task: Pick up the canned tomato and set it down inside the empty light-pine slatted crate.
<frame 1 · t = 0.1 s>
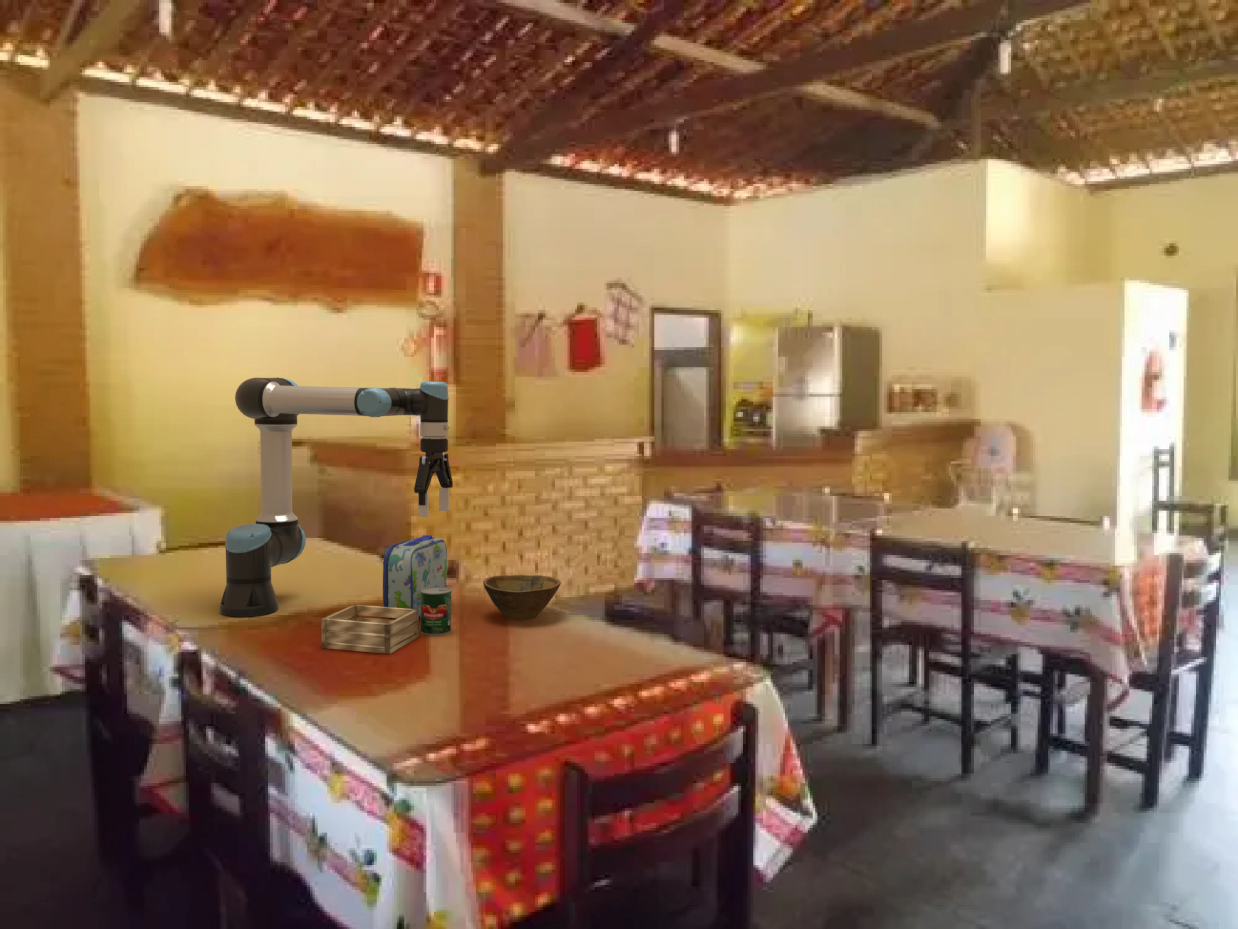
hand: (434, 514, 263), 28 cm above the table, fingers open, 13 cm apart
crate: (371, 642, 235), on the table
lunch box: (415, 612, 266), on the table
canned tomato: (435, 632, 246), on the table
bowl: (521, 617, 264), on the table
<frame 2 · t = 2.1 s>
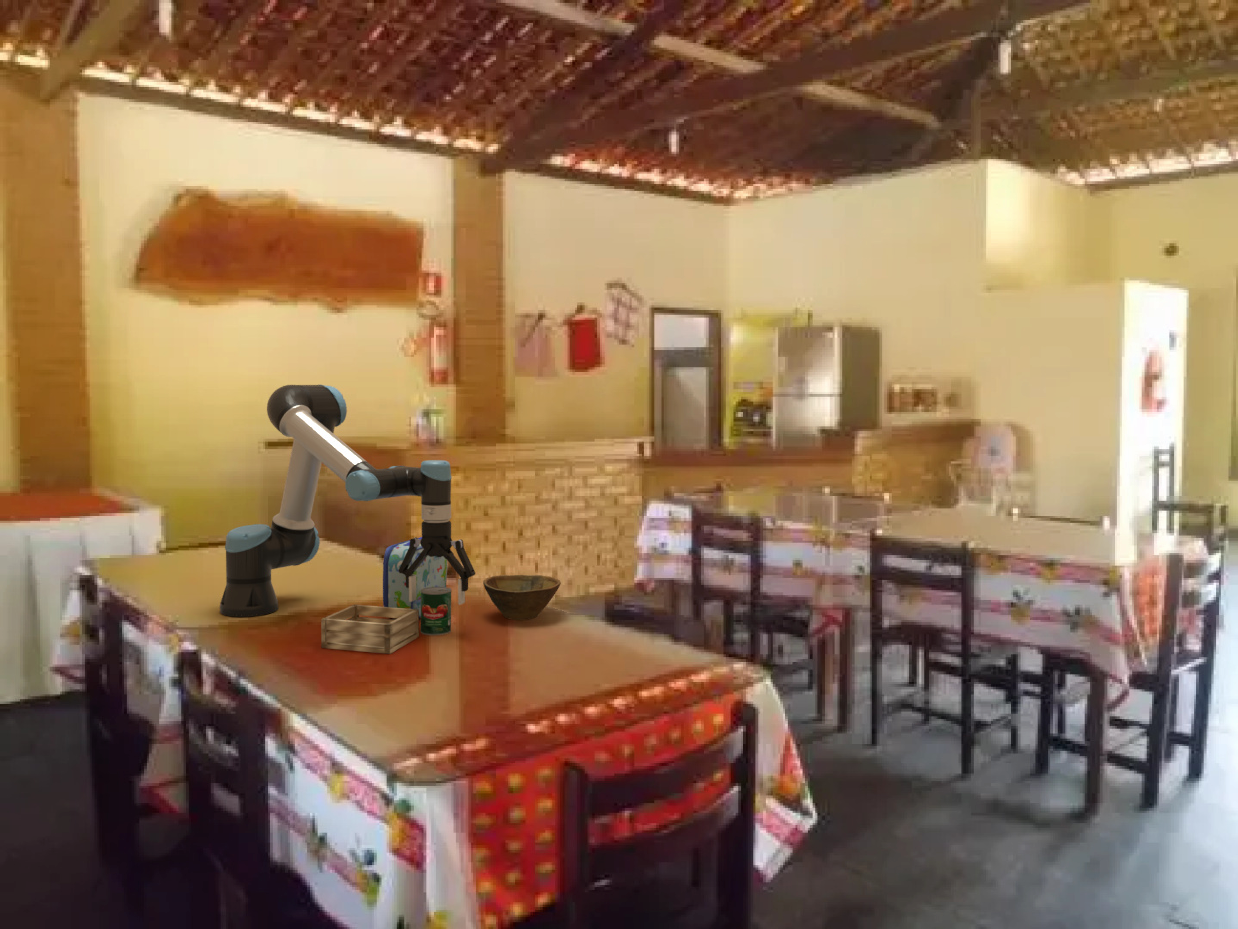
hand: (436, 602, 245), 8 cm above the table, fingers open, 13 cm apart
nothing on the table moved.
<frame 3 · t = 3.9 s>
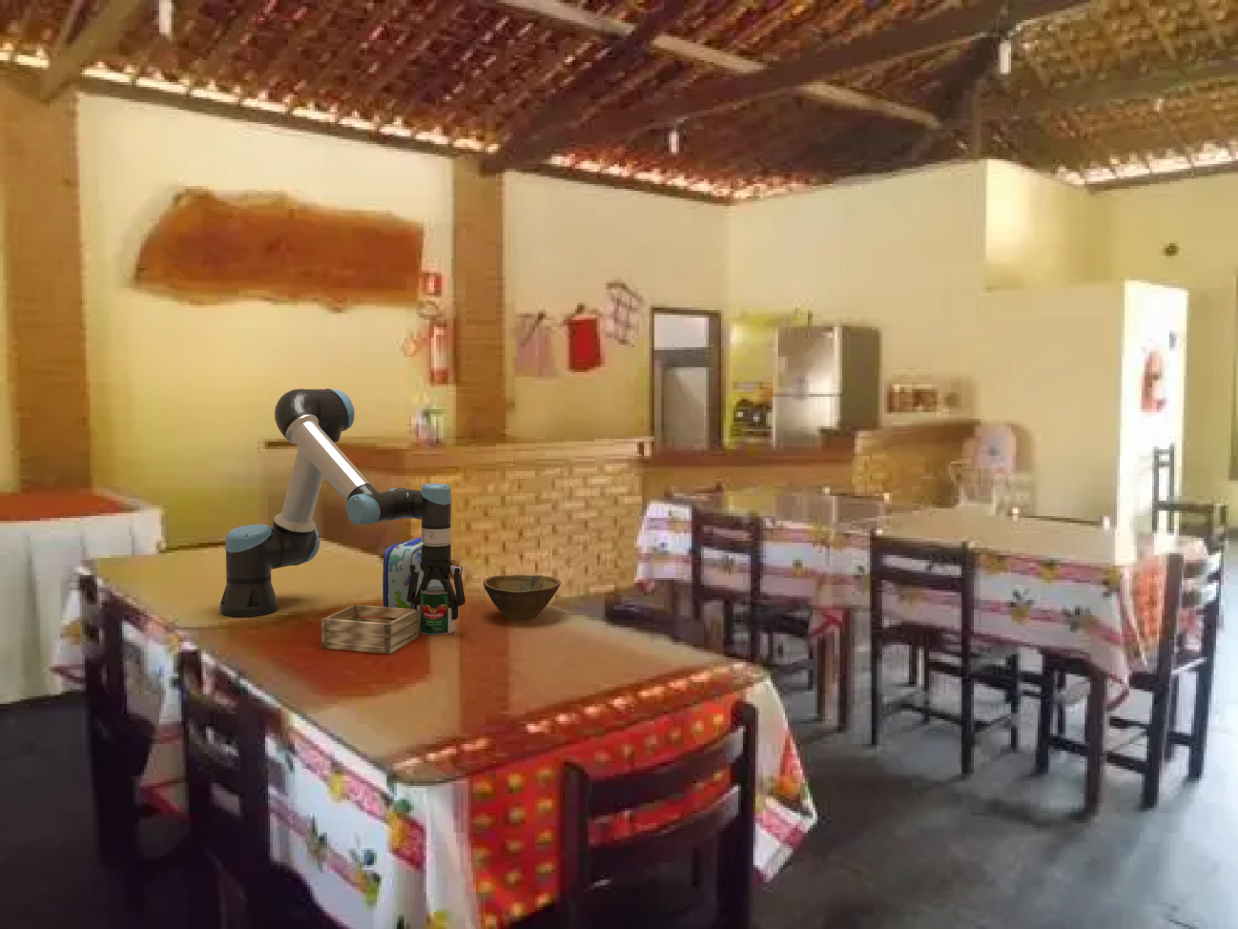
hand: (435, 630, 246), 0 cm above the table, fingers closed on canned tomato, 8 cm apart
canned tomato: (435, 632, 246), on the table, touching gripper
everything else where it was.
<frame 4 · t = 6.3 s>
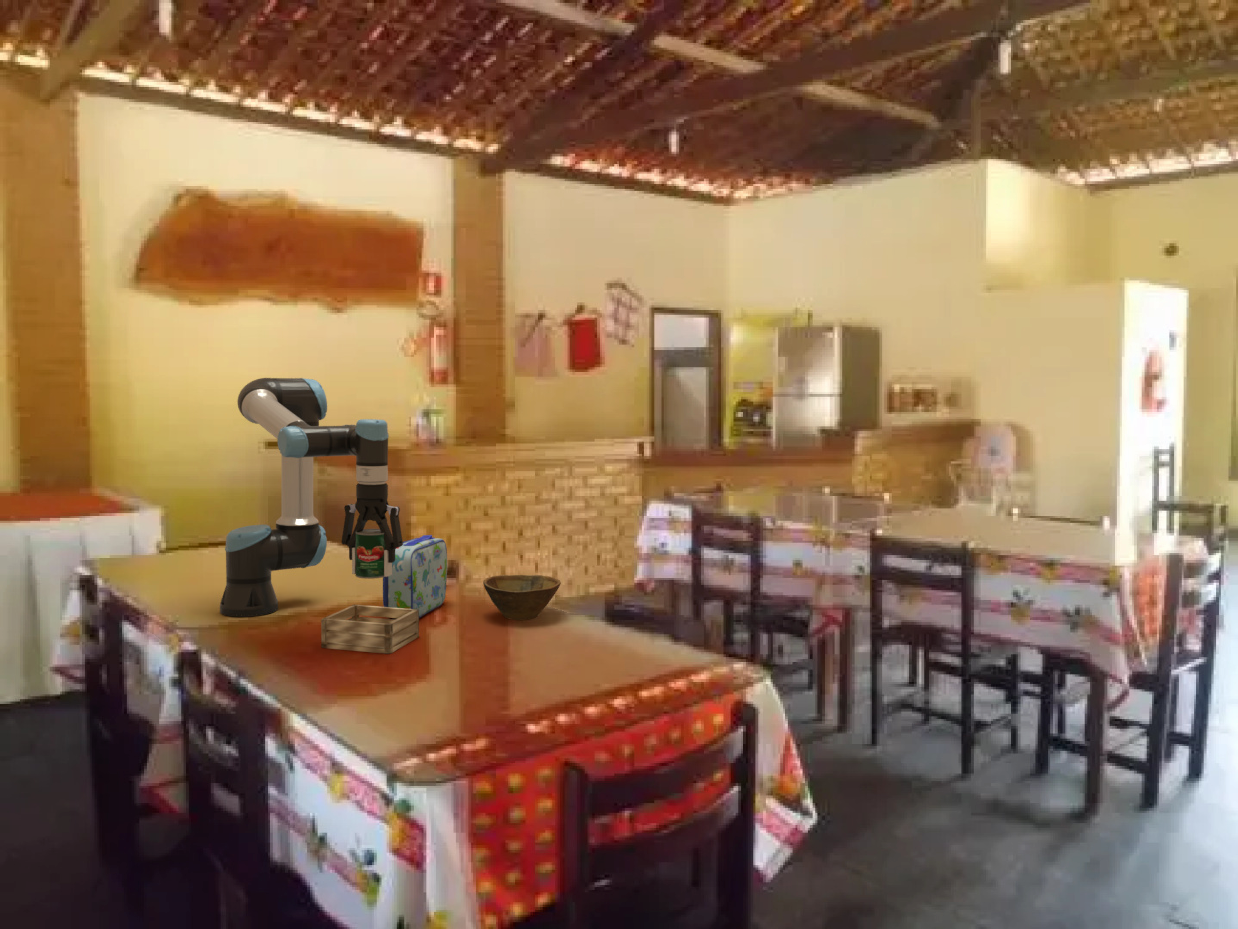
hand: (372, 574, 233), 17 cm above the table, fingers closed on canned tomato, 8 cm apart
canned tomato: (372, 576, 233), point 17 cm above the table, touching gripper
everything else where it was.
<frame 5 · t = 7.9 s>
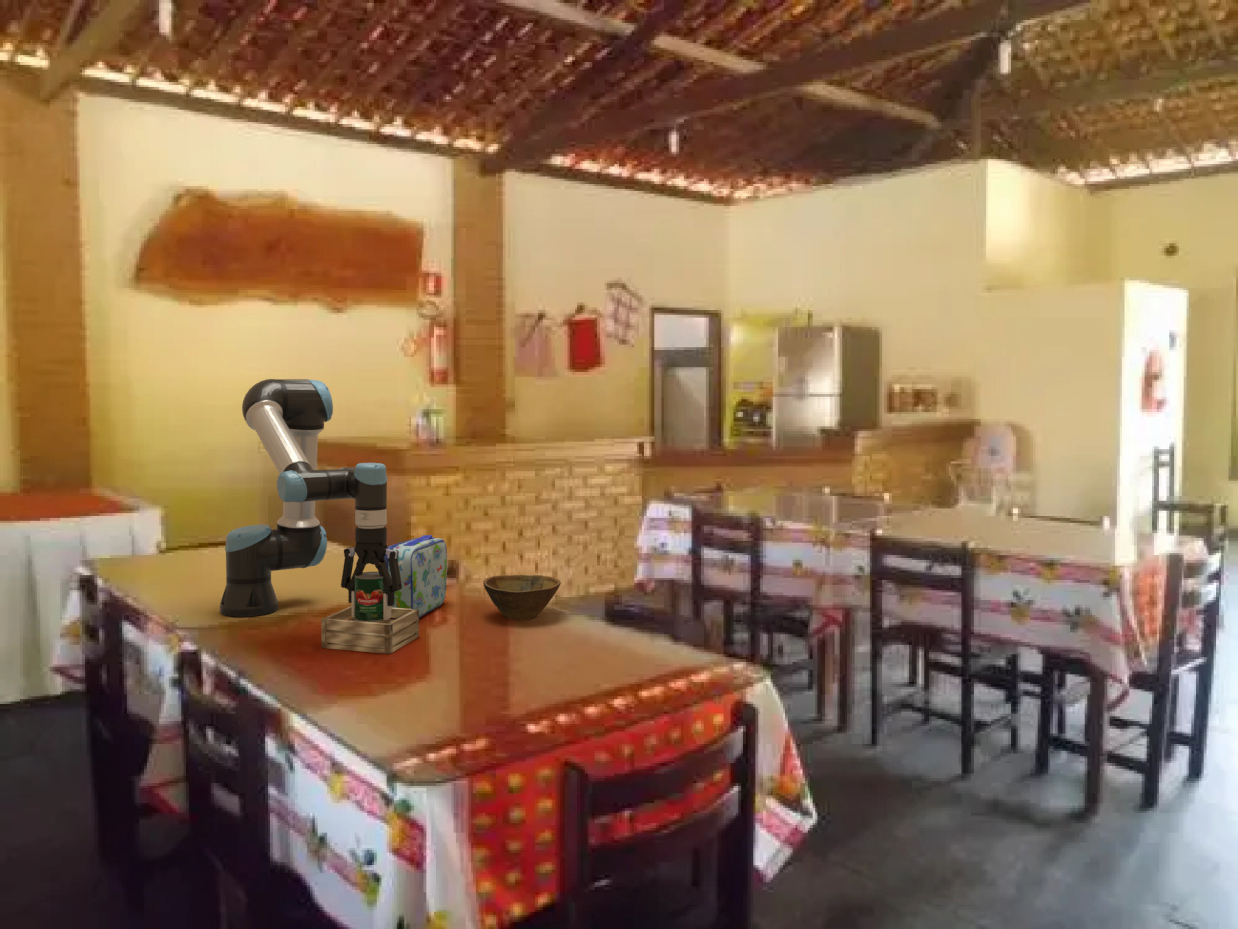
hand: (371, 617, 234), 6 cm above the table, fingers closed on canned tomato, 8 cm apart
canned tomato: (371, 619, 234), point 6 cm above the table, touching gripper
everything else where it was.
when the fingers open (4 cm above the table, at t = 9.2 s): canned tomato drops 2 cm, resting on crate.
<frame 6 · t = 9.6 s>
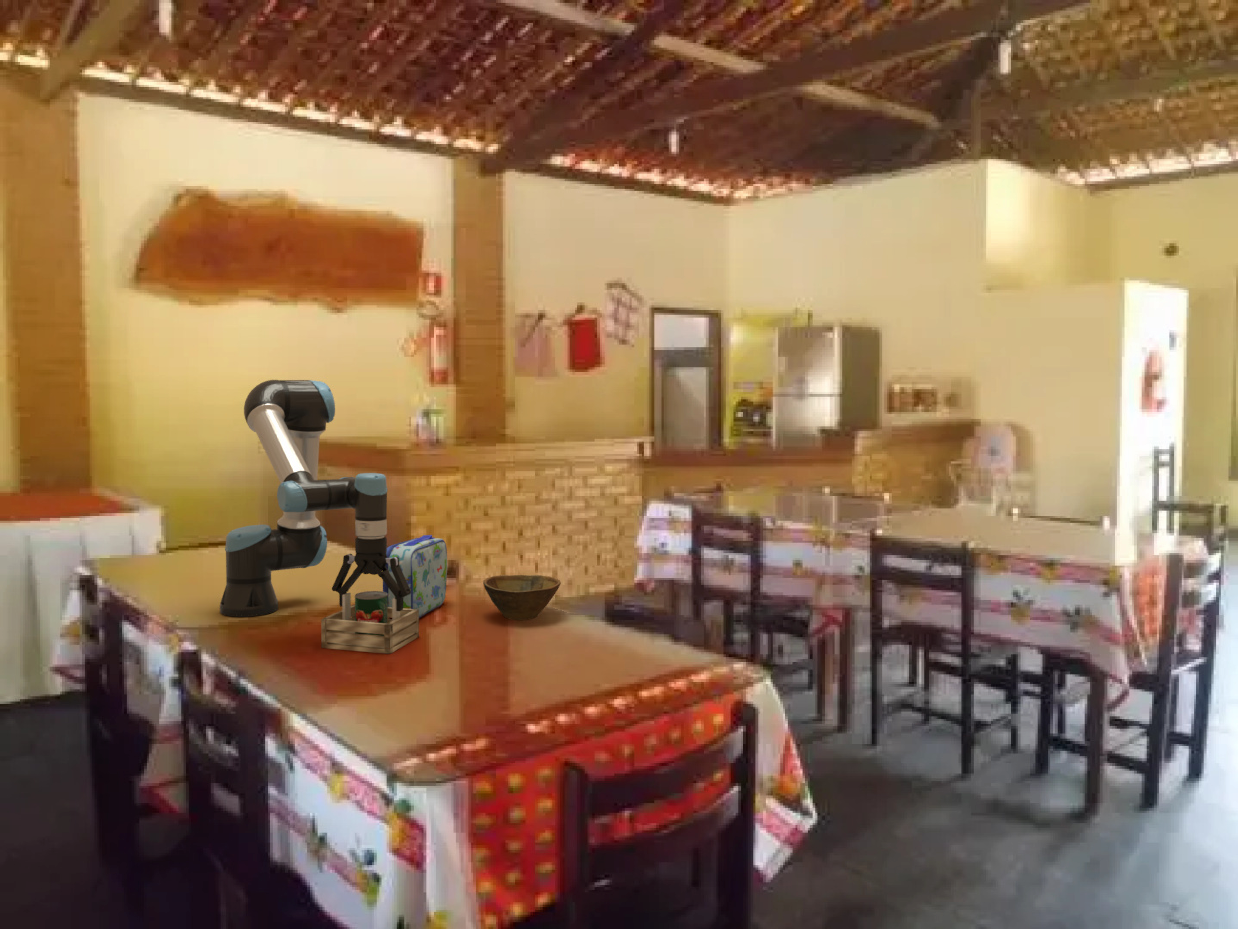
hand: (371, 621, 234), 5 cm above the table, fingers open, 13 cm apart
canned tomato: (371, 638, 234), point 1 cm above the table, touching crate
everything else where it was.
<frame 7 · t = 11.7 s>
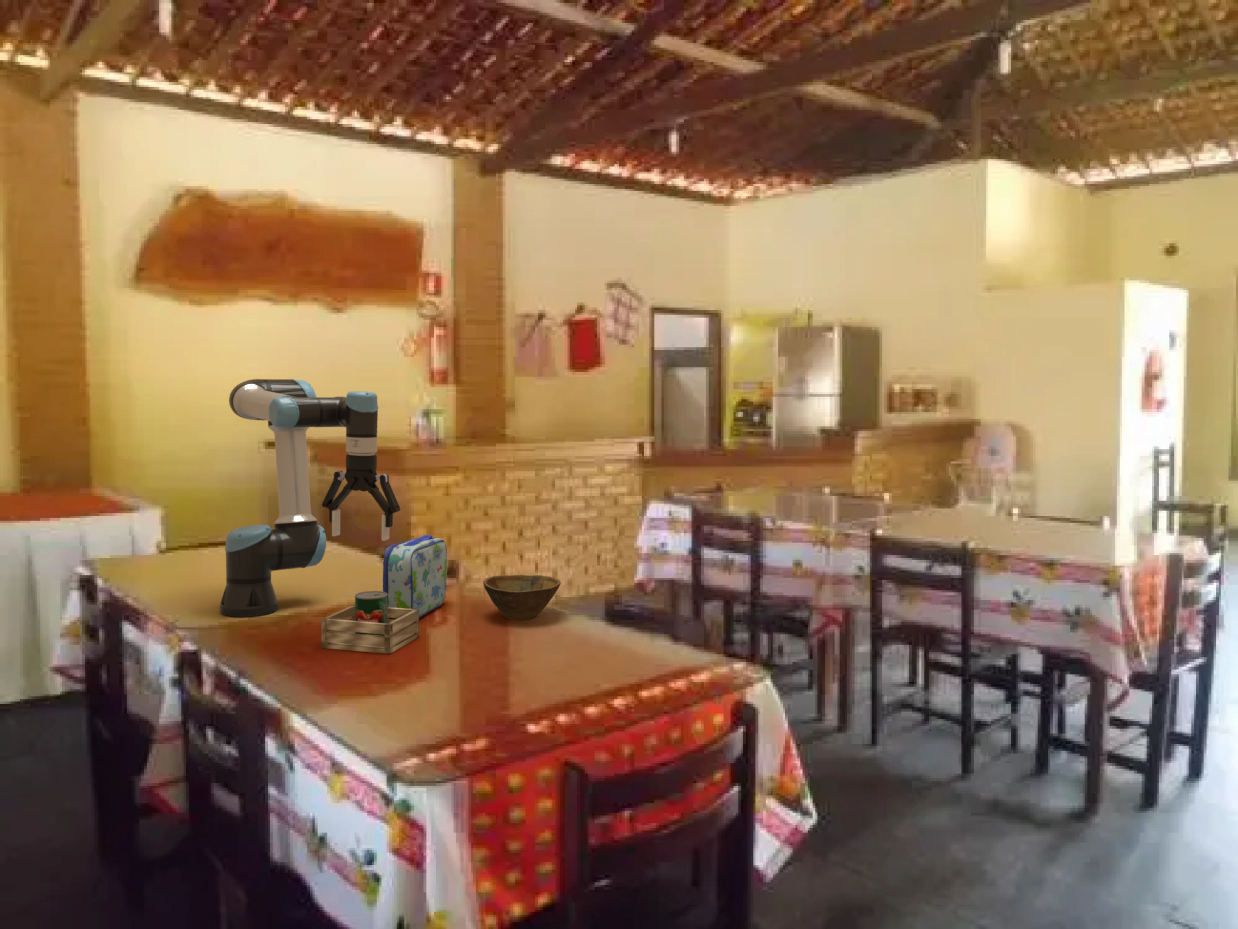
hand: (360, 537, 238), 25 cm above the table, fingers open, 13 cm apart
nothing on the table moved.
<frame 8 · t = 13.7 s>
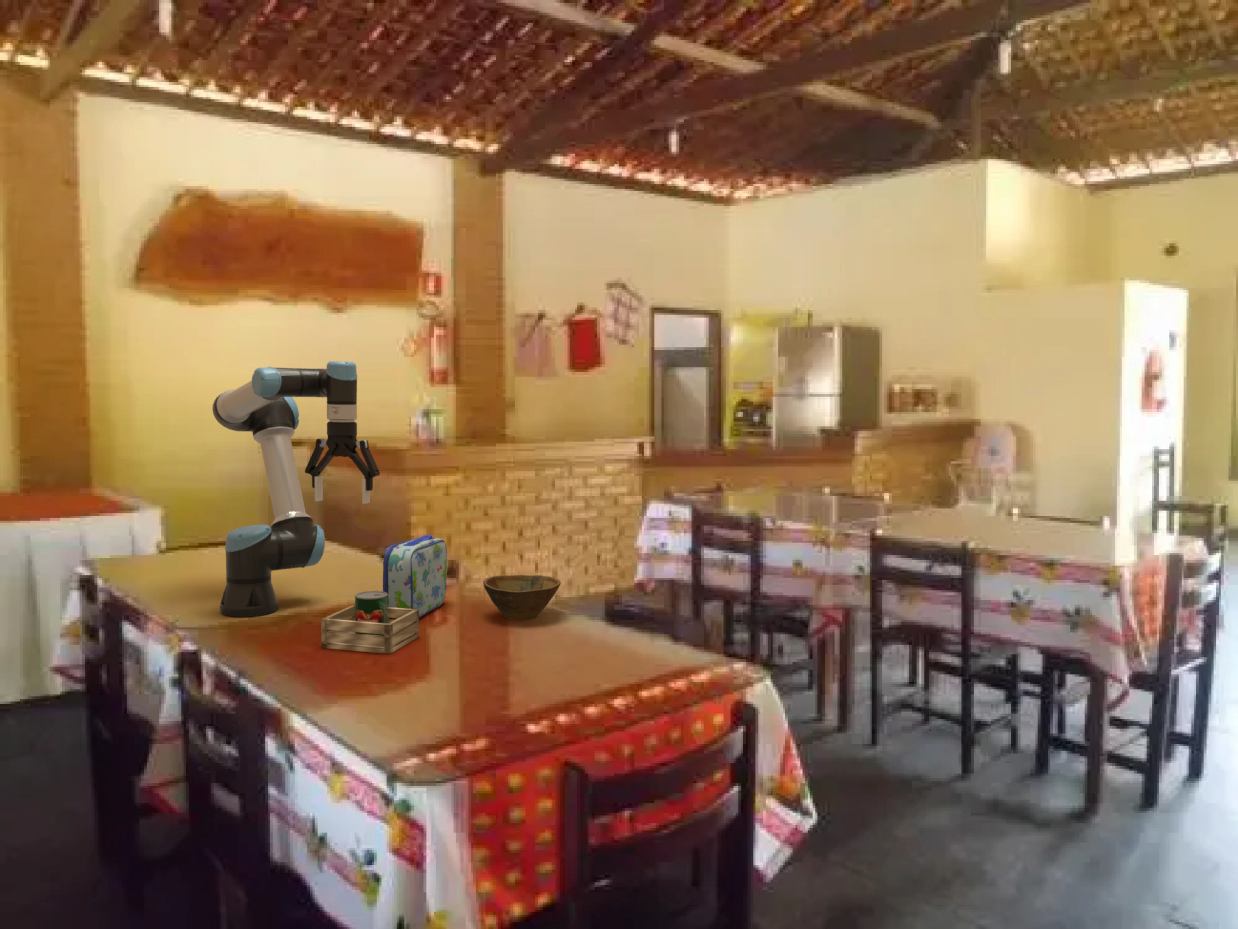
hand: (342, 502, 248), 33 cm above the table, fingers open, 13 cm apart
nothing on the table moved.
at the end: canned tomato inside the target area on the crate (0.0 cm from its centre), point 0.8 cm above the crate's base; canned tomato tilted 0°; the gripper is holding nothing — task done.
